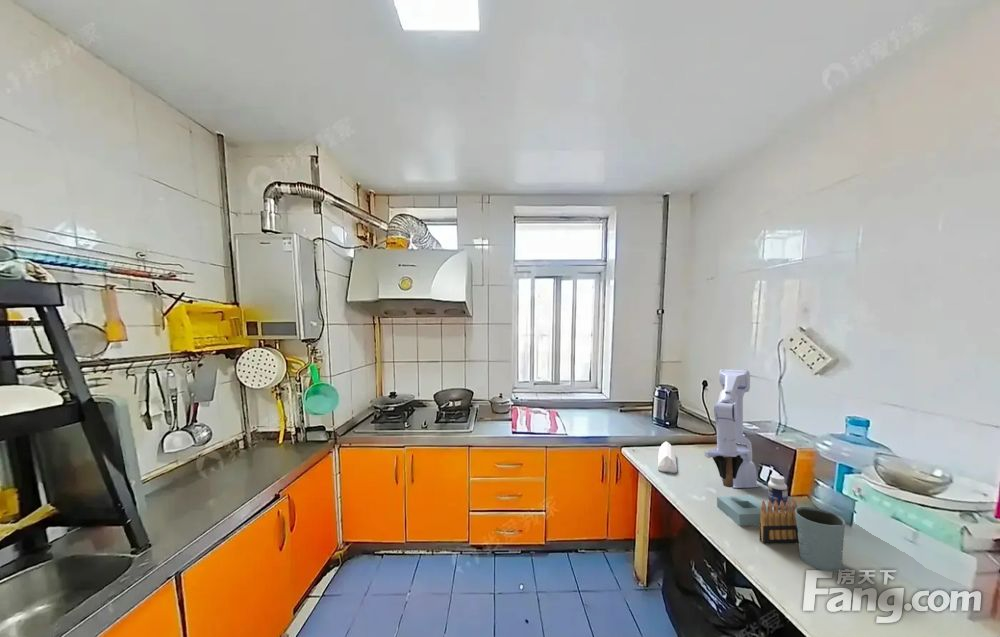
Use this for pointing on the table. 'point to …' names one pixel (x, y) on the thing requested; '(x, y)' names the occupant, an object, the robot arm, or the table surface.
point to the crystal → (667, 458)
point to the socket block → (741, 509)
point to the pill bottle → (777, 490)
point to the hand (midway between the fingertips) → (727, 477)
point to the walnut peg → (728, 473)
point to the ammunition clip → (778, 524)
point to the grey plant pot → (820, 538)
